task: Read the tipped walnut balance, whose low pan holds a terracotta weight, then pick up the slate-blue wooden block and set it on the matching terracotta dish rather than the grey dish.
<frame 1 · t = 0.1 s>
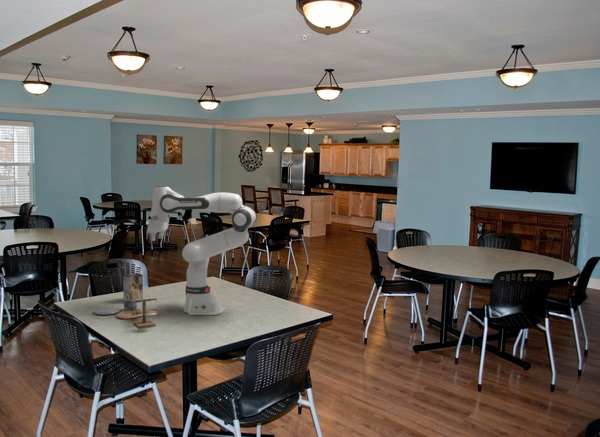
hand: (156, 239, 288), 39 cm above the table, tool pointing down, fingers open, 8 cm apart
balance: (144, 325, 259), on the table
grey dish: (106, 312, 280), on the table
block: (130, 310, 285), on the table
terracotta dish: (129, 316, 274), on the table
coffee box: (133, 301, 304), on the table
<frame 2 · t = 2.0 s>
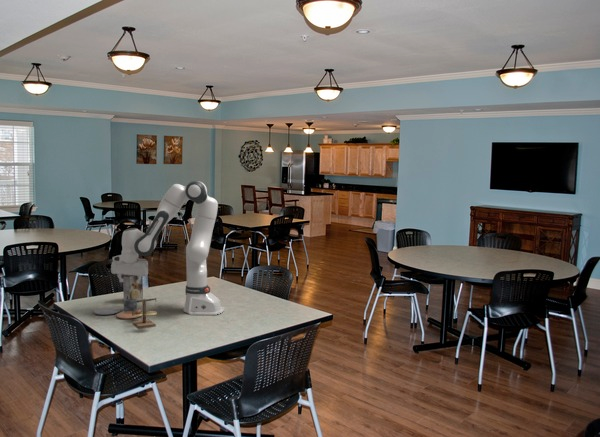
hand: (129, 282, 284), 15 cm above the table, tool pointing down, fingers open, 8 cm apart
nothing on the table moved.
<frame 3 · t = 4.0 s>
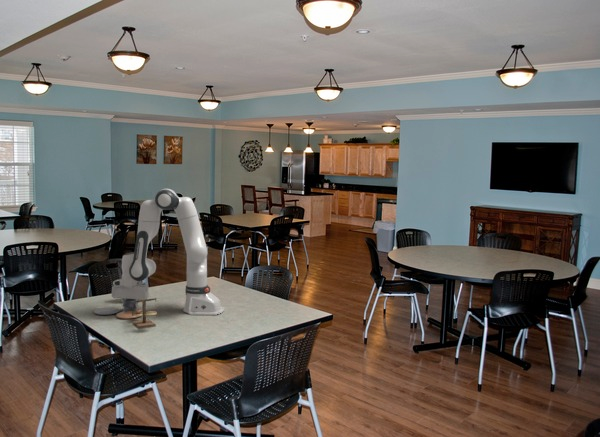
hand: (130, 306, 285), 2 cm above the table, tool pointing down, fingers closed on block, 5 cm apart
block: (130, 310, 285), on the table, touching gripper
everything else where it was.
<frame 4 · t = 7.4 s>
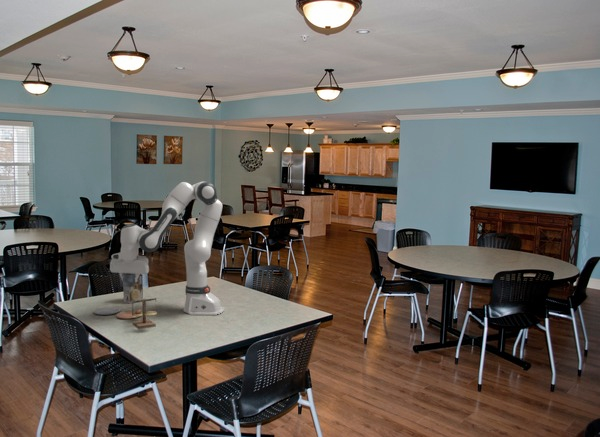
hand: (129, 281, 272), 19 cm above the table, tool pointing down, fingers closed on block, 5 cm apart
block: (129, 285, 272), point 16 cm above the table, touching gripper
everything else where it was.
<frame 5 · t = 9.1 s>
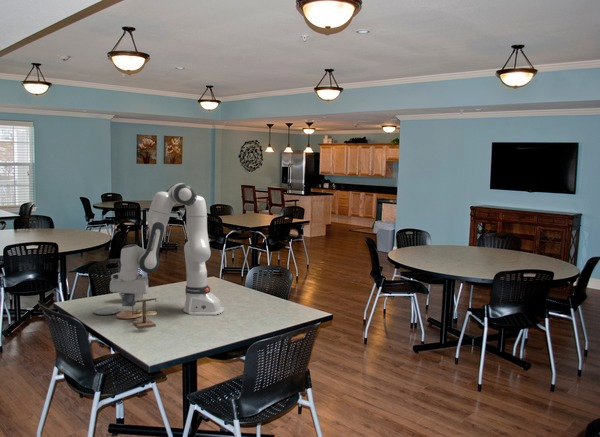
hand: (129, 301, 273), 8 cm above the table, tool pointing down, fingers closed on block, 5 cm apart
block: (129, 305, 273), point 6 cm above the table, touching gripper
everything else where it was.
when the fingers open (5 cm above the table, at t = 10.7 s): block drops 1 cm, resting on terracotta dish.
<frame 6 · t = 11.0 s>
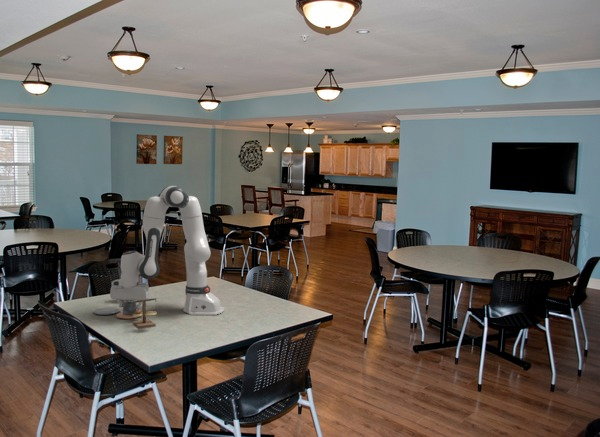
hand: (129, 307, 273), 5 cm above the table, tool pointing down, fingers open, 8 cm apart
block: (129, 314, 274), point 1 cm above the table, touching terracotta dish
everything else where it was.
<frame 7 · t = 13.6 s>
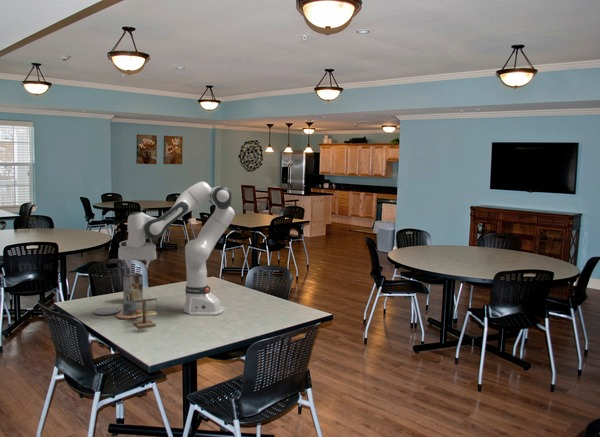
hand: (137, 268, 278), 25 cm above the table, tool pointing down, fingers open, 8 cm apart
nothing on the table moved.
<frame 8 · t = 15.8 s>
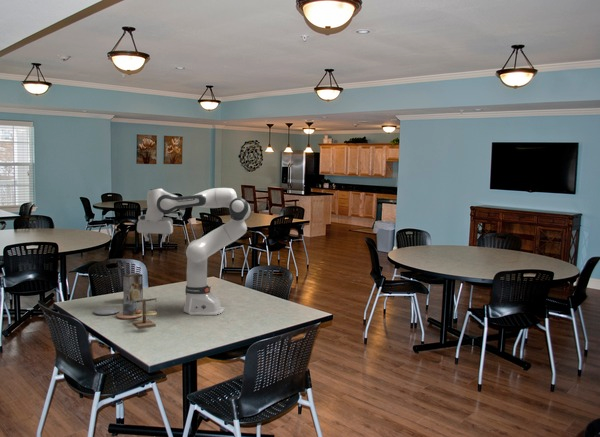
hand: (155, 241, 293), 37 cm above the table, tool pointing down, fingers open, 8 cm apart
nothing on the table moved.
at the end: block inside the target area on the terracotta dish (0.1 cm from its centre), point 1.2 cm above the terracotta dish's base; block tilted 0°; the gripper is holding nothing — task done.
